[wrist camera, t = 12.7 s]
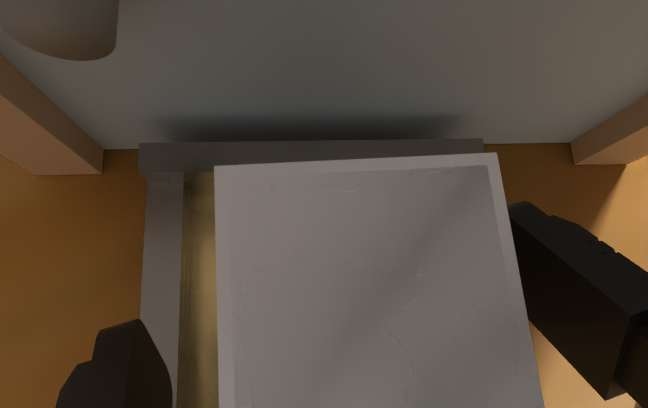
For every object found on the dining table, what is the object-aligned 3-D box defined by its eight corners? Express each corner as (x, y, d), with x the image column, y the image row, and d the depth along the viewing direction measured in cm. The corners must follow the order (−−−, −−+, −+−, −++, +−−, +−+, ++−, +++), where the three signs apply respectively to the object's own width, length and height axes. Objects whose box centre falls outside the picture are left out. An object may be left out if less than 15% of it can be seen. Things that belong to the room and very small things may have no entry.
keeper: (451, 167, 18) (482, 138, 15) (485, 436, 16) (530, 463, 13) (164, 172, 17) (139, 142, 14) (151, 461, 15) (117, 497, 12)
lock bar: (375, 248, 17) (497, 152, 7) (388, 373, 16) (554, 459, 6) (257, 256, 16) (213, 166, 7) (262, 385, 15) (220, 500, 6)
